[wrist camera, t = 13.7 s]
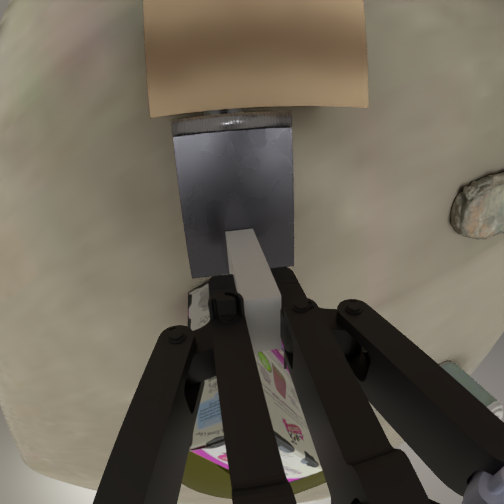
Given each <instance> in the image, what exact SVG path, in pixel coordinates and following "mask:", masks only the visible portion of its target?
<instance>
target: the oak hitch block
mask: <svg viewBox="0 0 504 504" xmlns="http://www.w3.org/2000/svg"><path fill="white" fill-rule="evenodd" d="M143 13H144V40H145V58H146V73H147V86H148V98H149V109H150V118H154V117H161V116H168V115H175V114H183V113H191V112H200V111H210V110H221V109H233V108H249V107H270V106H339V107H361V108H368V63H367V43H366V28H365V15H364V5H363V0H143Z"/></svg>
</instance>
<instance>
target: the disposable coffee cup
mask: <svg viewBox="0 0 504 504" xmlns="http://www.w3.org/2000/svg"><path fill="white" fill-rule="evenodd" d="M439 365H440V366H441V367H442V368H443V369H444V370H445V371H447V372H448V373H449V374H450V375H451V376H452V377H453V378H455V379H456V380H457V381H458V382H459V383H460V384H461V385H462V386H464V387H465V388H466V389H467V390H468V391H469V392H470V393H471V394H473V395H474V396H475V397H476V398H477V399H478V400H479V401H480V402H482V403H483V404H484V405H485V406H486V407H487V408H488V409H489V410H490V411H492V412H493V413H494V414H495V415H496V416H497V417H498V418H499V419H500V420H501V419H502V417H503V410H502V406H503V405H502V403H501V402H500V401H497V400H496V399H495V398H494V397H493V396H492V395H490V393H488V392H487V391H486V390H485V389H484V388H483V387H482V386H480V385H479V384H478V383H477V382H476V381H475V380H474V379H473V378H471V377H470V376H469V375H468V374H467V373H466V372H464V371H463V370H462V369H461V368H460V367H459V366H458V365H456V364H455V363H452V362H451V361H445V362H443V363H441V364H439Z"/></svg>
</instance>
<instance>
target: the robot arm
mask: <svg viewBox="0 0 504 504" xmlns="http://www.w3.org/2000/svg"><path fill="white" fill-rule="evenodd" d="M225 234H226V244H227V254H228V264H229V273H230V274H228V275H220V276H212V277H211V279H210V281H209V282H208V287H209V299H208V308H209V314H210V320H209V322H208V323H207V324H206V325H204V326H203V327H201V328H199V329H196V330H194V331H192V329H190V328H189V327H187V326H182V325H178V326H172V327H169V328H167V329H166V330H164V331H163V332H162V333H161V334H160V336H159V338H158V340H157V343H156V345H155V347H154V350H153V352H152V354H151V356H150V359H149V361H148V363H147V366H146V368H145V370H144V373H143V375H142V378H141V380H140V382H139V385H138V387H137V389H136V392H135V394H134V397H133V399H132V402H131V404H130V406H129V409H128V411H127V414H126V416H125V419H124V421H123V424H122V426H121V429H120V431H119V434H118V437H117V439H116V442H115V444H114V447H113V450H112V452H111V455H110V457H109V460H108V463H107V465H106V468H105V471H104V474H103V476H102V479H101V482H100V485H99V487H98V490H97V493H96V496H95V499H94V502H93V504H177V501H178V496H179V492H180V487H181V483H182V478H183V474H184V470H185V465H186V461H187V457H188V452H189V448H190V444H191V439H192V435H193V431H194V426H195V422H196V418H197V414H198V409H199V405H200V401H201V397H202V393H203V389H204V384H205V380H207V379H210V378H212V377H215V376H216V377H217V386H218V394H219V402H220V410H221V418H222V425H223V433H224V440H225V447H226V454H227V461H228V467H229V474H230V480H231V487H232V492H231V493H232V501H233V504H296V500H295V497H294V493H293V490H292V487H291V485H290V483H289V481H288V480H287V478H286V475H285V471H284V468H283V464H282V460H281V456H280V453H279V449H278V445H277V441H276V438H275V434H274V430H273V426H272V422H271V418H270V414H269V411H268V407H267V403H266V399H265V395H264V391H263V387H262V383H261V379H260V375H259V371H258V367H257V363H256V359H255V355H254V353H255V352H261V351H267V350H274V349H280V348H281V340H282V343H283V346H284V369H287V367H288V370H289V373H290V376H291V379H292V382H293V385H294V388H295V391H296V393H297V396H298V399H299V402H300V405H301V408H302V411H303V414H304V417H305V420H306V423H307V426H308V429H309V432H310V435H311V438H312V441H313V444H314V447H315V450H316V453H317V456H318V459H319V462H320V465H321V468H322V470H323V473H324V476H325V479H326V482H327V485H328V488H329V491H330V495H331V504H440V503H437V502H435V501H432V500H430V499H428V497H427V495H426V493H425V490H424V488H423V486H422V484H421V482H420V480H419V478H418V476H417V474H416V472H415V470H414V469H413V466H412V464H411V462H410V460H409V459H408V457H407V455H406V454H405V453H404V452H403V451H402V450H401V449H394V448H393V447H392V446H391V445H390V443H389V441H388V439H387V437H386V435H385V433H384V431H383V429H382V427H381V425H380V423H379V421H378V419H377V417H376V415H375V413H374V411H373V409H372V407H371V405H370V403H371V404H372V405H373V406H374V408H375V409H376V410H377V411H378V412H379V413H380V414H381V415H382V416H383V418H384V419H385V420H386V421H387V422H388V423H389V424H390V425H391V426H392V427H393V429H394V430H395V431H396V432H397V433H398V434H399V435H400V436H401V437H402V439H403V440H404V441H405V442H406V443H407V444H408V445H409V446H410V447H411V448H412V449H413V450H414V452H415V453H416V454H417V455H418V456H419V457H420V458H421V459H422V460H423V462H424V463H425V464H426V465H427V466H428V467H429V468H430V469H431V470H432V471H433V473H434V474H435V475H436V476H437V477H438V478H439V479H440V480H441V481H442V482H443V483H444V484H446V486H448V487H449V488H450V489H452V490H453V491H454V492H456V493H457V494H459V495H461V496H463V502H462V504H504V422H502V421H501V420H500V419H499V418H498V417H497V416H496V415H495V414H494V413H493V412H492V411H490V410H489V409H488V408H487V407H486V406H485V405H484V404H483V403H482V402H480V401H479V400H478V399H477V398H476V397H475V396H474V395H473V394H471V393H470V392H469V391H468V390H467V389H466V388H465V387H464V386H462V385H461V384H460V383H459V382H458V381H457V380H456V379H455V378H453V377H452V376H451V375H450V374H449V373H448V372H447V371H445V370H444V369H443V368H442V367H441V366H440V365H438V364H437V363H436V362H435V361H434V360H433V359H432V358H430V357H429V356H428V355H427V354H426V353H425V352H423V351H422V350H421V349H420V348H419V347H418V346H416V345H415V344H414V343H413V342H412V341H410V340H409V339H408V338H407V337H406V336H405V335H403V334H402V333H401V332H400V331H399V330H397V329H396V328H395V327H394V326H393V325H391V324H390V323H389V322H388V321H387V320H385V319H384V318H383V317H382V316H381V315H379V314H378V313H377V312H376V311H375V310H373V309H372V308H371V307H370V306H369V305H367V304H366V303H364V302H363V301H360V300H356V299H348V300H344V301H342V302H340V303H339V305H338V307H337V309H323V308H319V307H318V306H317V304H316V303H315V302H314V301H313V300H311V299H308V298H307V297H306V295H305V293H304V291H303V289H302V288H301V286H300V284H299V283H298V280H297V278H296V276H295V274H294V273H293V271H292V270H290V269H289V268H287V267H286V266H284V267H277V268H269V265H268V263H267V261H266V258H265V256H264V254H263V251H262V249H261V247H260V244H259V242H258V240H257V237H256V235H255V233H254V230H253V229H244V230H235V231H227V232H225ZM369 402H370V403H369Z"/></svg>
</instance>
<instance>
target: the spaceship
mask: <svg viewBox="0 0 504 504" xmlns="http://www.w3.org/2000/svg"><path fill="white" fill-rule="evenodd" d="M323 483H326V479H325V476H324V473H323V471H320V472H318V473H315V474H313V475H310V476H307V477H305V478H303V479H300V480H297V481H294V482H292V483H290V485H291V487H292V490H293V493H294V494H297V493H299V492H302V491H305V490H308V489H310V488H313V487H316V486H318V485H321V484H323ZM182 484H183V485H185V486H187V487H188V488H191V489H193V490H195V491H197V492H200V493H204V494H208V495H211V496H215V497H221V498H228V499H232V493H231V492H232V487H231V480H230V474H229V470H228V469H226V468H224V467H222V466H220V465H218V464H215V463H213V462H211V461H209V460H207V459H205V458H203V457H201V456H199V455H197V454H195V453H193V452H191V451H189V452H188V457H187V461H186V465H185V470H184V474H183V478H182Z"/></svg>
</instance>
